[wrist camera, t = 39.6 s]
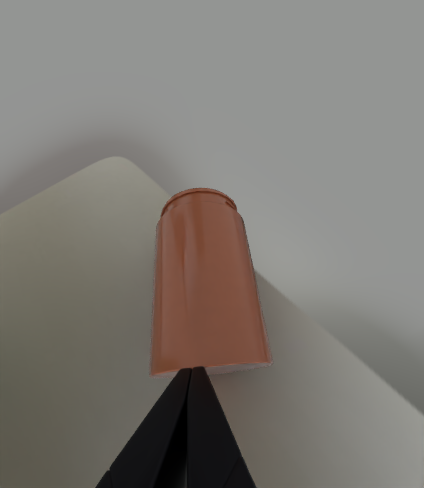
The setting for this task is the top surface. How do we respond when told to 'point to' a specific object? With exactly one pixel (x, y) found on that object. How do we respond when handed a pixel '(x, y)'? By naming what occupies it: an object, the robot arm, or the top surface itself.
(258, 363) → the jar
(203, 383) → the robot arm
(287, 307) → the top surface
